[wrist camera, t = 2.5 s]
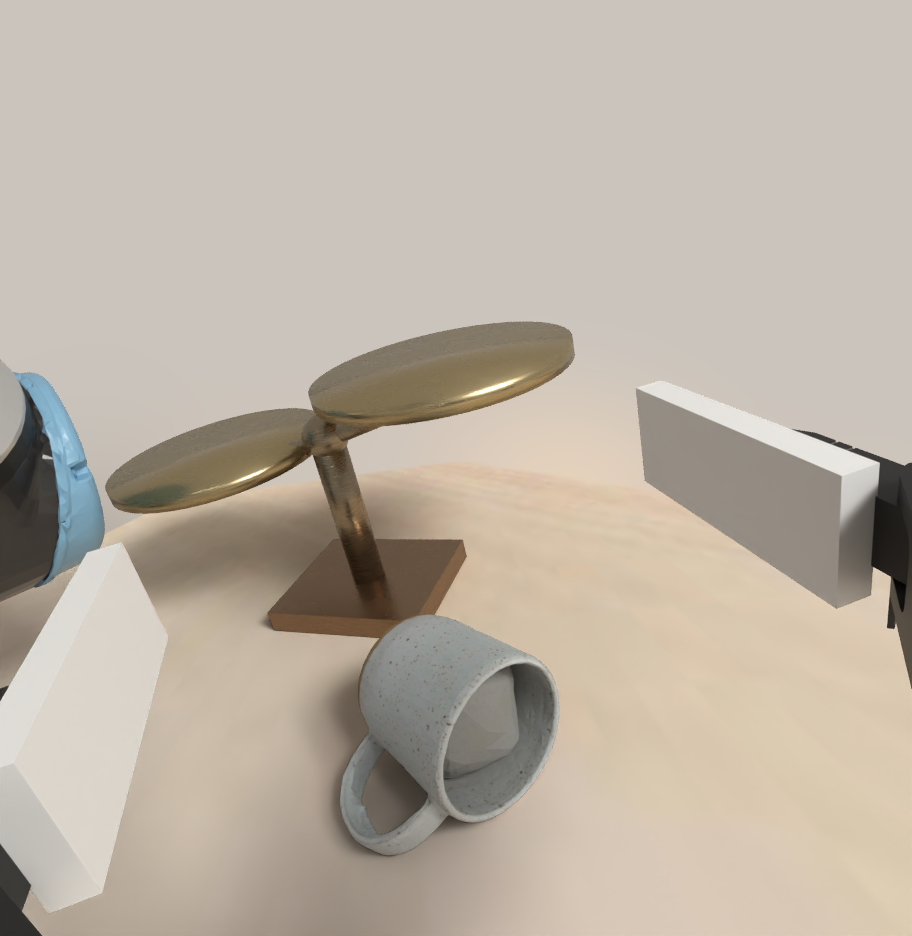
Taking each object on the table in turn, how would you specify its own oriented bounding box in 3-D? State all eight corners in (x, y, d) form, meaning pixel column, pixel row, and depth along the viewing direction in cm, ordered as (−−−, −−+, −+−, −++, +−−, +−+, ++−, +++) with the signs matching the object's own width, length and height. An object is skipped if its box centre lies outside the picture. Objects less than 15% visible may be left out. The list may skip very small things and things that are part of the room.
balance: (130, 647, 49) (21, 439, 42) (253, 536, 62) (186, 364, 55) (587, 689, 35) (539, 393, 28) (618, 536, 49) (591, 309, 42)
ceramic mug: (466, 678, 38) (437, 574, 35) (572, 747, 32) (548, 628, 29) (317, 803, 32) (267, 692, 29) (413, 915, 26) (361, 790, 23)
